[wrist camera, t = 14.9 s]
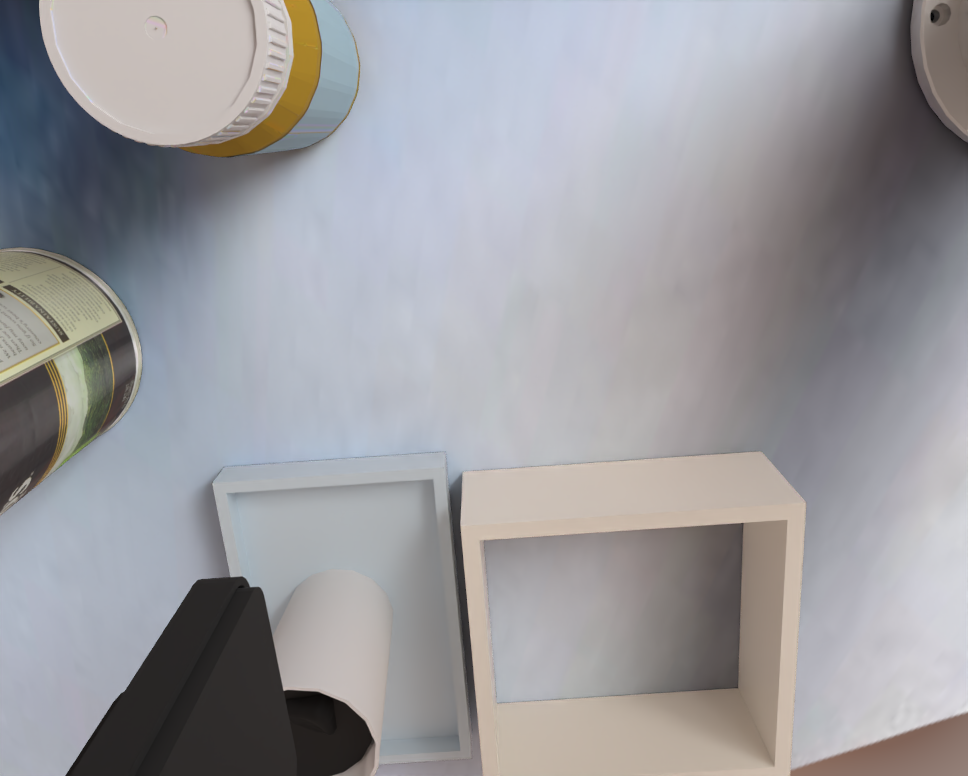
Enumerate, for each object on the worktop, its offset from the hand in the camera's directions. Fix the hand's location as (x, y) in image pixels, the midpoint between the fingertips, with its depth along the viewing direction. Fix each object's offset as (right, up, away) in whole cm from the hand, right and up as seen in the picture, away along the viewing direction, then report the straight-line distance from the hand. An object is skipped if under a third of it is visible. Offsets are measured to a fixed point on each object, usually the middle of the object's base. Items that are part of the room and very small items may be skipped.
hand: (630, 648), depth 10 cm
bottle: (-11, +18, +26) cm, 33 cm away
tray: (-9, -9, +34) cm, 36 cm away
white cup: (-10, -9, +34) cm, 36 cm away
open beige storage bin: (+5, -8, +34) cm, 35 cm away
